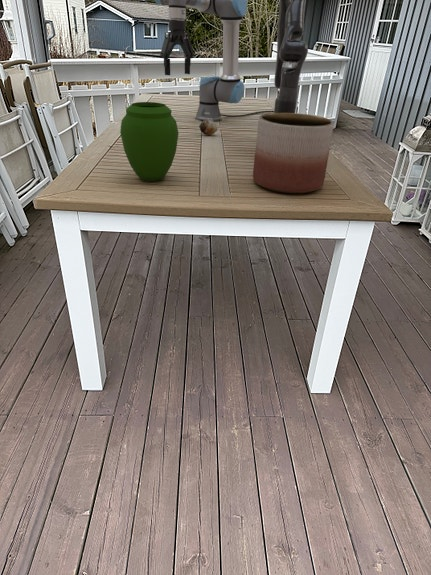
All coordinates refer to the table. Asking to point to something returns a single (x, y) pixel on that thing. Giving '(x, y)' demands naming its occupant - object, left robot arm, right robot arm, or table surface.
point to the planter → (292, 152)
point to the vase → (149, 139)
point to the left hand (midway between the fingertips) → (177, 74)
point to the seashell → (208, 127)
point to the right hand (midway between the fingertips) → (282, 141)
